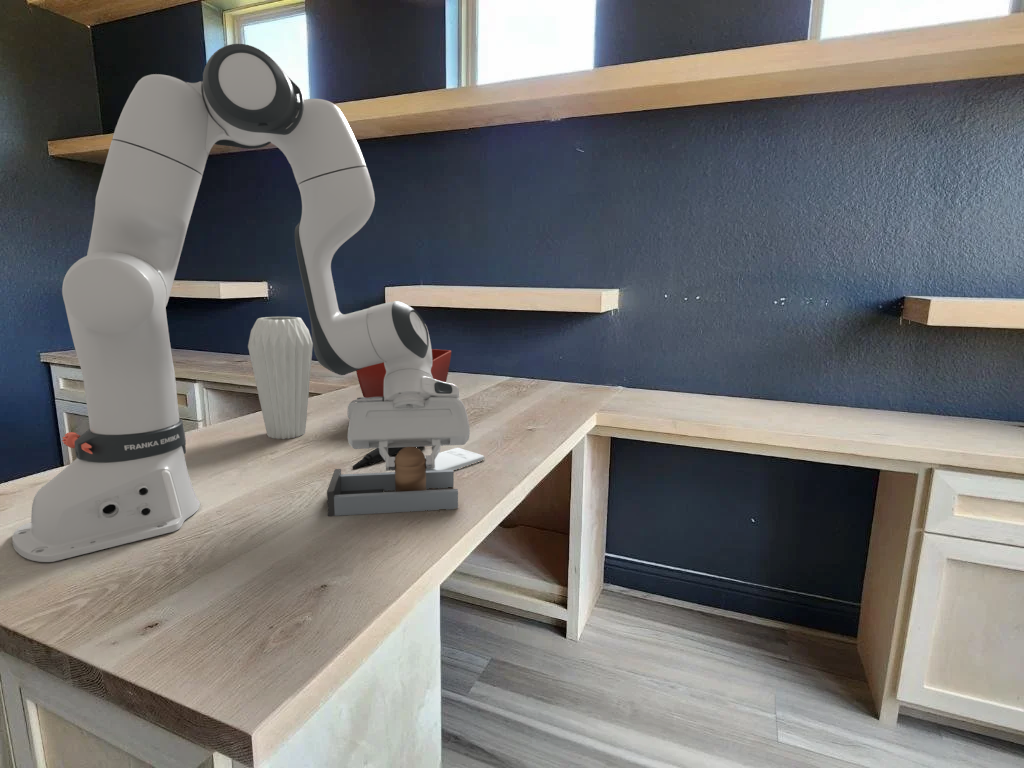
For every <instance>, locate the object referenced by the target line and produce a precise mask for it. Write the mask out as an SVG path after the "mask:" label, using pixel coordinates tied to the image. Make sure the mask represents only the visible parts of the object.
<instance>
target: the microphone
mask: <svg viewBox="0 0 1024 768" xmlns="http://www.w3.org/2000/svg"><path fill="white" fill-rule="evenodd" d="M403 448H405V447H393V448H388V455H389V456H390V457H393V456H394V455H397V453H398V452H399V451H400V450H401V449H403ZM420 448H423V446H419V448H418V449H420ZM380 460H381V461H382V460H384V459H383V457H382V456H381V455H380V452H379V448H374V449H373V450H372V451H370V452H368V453H367V454H365V456H363V458H362V459H360V460H359V461H357V462H356V463H355V464H354V465H352V468H353V469H358V468H362V467H364V466H366V465H367V466H369V465H374V464H376V463H378V462H381V461H380ZM373 463H374V464H373Z"/></svg>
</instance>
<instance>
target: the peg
mask: <svg viewBox="0 0 1024 768" xmlns="http://www.w3.org/2000/svg"><path fill="white" fill-rule="evenodd" d="M425 457H426V455H425V454H424V452H423V451H422V450H421V449H420V448H416V447H411V446H410V447H405V448H403V449H401V450H400V451H399V452H398V453H396V454H395V470H394V472H395V491H394V492H404V491H424V490H427V489H426V459H425Z"/></svg>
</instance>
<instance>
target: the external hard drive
mask: <svg viewBox="0 0 1024 768" xmlns="http://www.w3.org/2000/svg"><path fill="white" fill-rule="evenodd" d="M483 459H484V460H485V455H483V454H480V453H477V452H474V451H471V450H467V449H463V448H460V447H454V448H451V449H448V450H447V449H446V450H445V451H440V452H439V453H438V455H437V457H436V458H435V468H434V469H426V471H431V470H456V469H459V468H461V467H464V466H467V465H470V464H472V463H475V462H478V461H481V460H483ZM470 466H471V465H470ZM467 467H468V466H467ZM459 470H460V469H459ZM456 471H457V470H456Z"/></svg>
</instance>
